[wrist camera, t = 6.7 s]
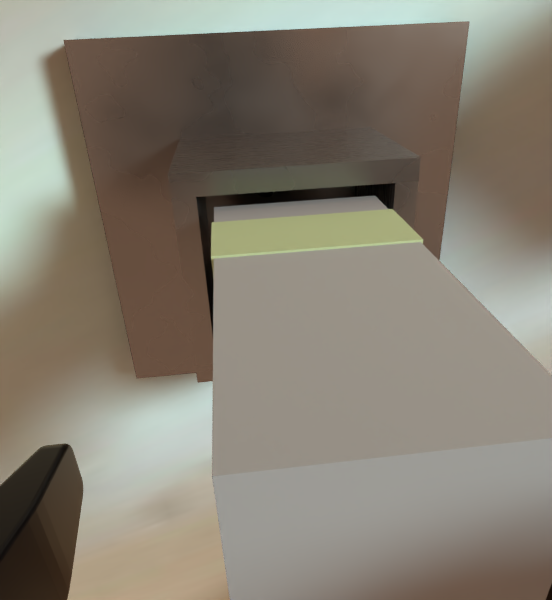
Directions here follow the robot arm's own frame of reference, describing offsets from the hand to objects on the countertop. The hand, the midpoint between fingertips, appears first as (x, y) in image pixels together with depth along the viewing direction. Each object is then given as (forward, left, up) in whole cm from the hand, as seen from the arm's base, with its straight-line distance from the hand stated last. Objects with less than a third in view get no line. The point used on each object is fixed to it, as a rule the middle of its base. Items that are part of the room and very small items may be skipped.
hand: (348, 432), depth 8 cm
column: (0, 0, -6) cm, 6 cm away
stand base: (0, 0, -11) cm, 11 cm away
